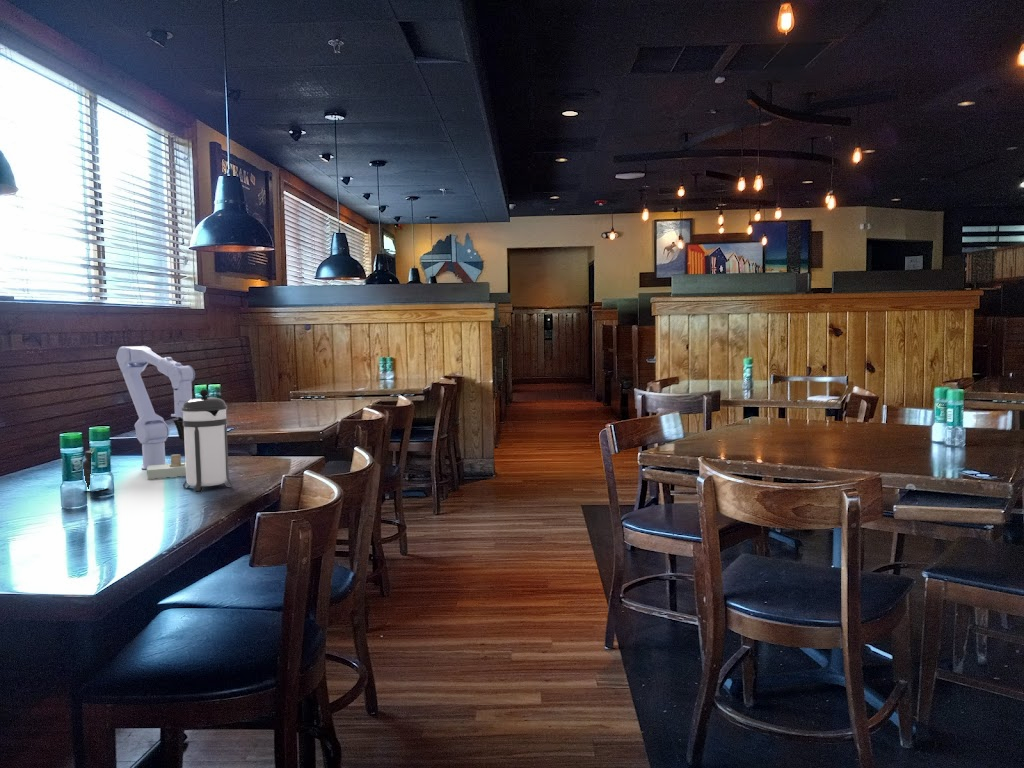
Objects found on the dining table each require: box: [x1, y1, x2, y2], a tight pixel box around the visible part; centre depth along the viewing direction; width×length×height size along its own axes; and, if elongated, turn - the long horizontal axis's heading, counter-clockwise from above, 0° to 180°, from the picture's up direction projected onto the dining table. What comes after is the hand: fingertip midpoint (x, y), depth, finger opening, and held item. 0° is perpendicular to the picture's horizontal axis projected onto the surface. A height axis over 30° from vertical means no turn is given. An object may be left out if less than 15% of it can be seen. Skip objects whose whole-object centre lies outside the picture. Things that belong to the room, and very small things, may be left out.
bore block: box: [146, 462, 186, 480], centre depth 253 cm, size 10×18×3 cm, turn 115°
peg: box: [170, 454, 182, 467], centre depth 253 cm, size 3×3×6 cm
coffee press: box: [182, 389, 234, 493], centre depth 229 cm, size 17×16×30 cm
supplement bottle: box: [82, 449, 92, 489], centre depth 229 cm, size 7×7×12 cm
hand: (185, 440), depth 260 cm, fingers open, 7 cm apart
